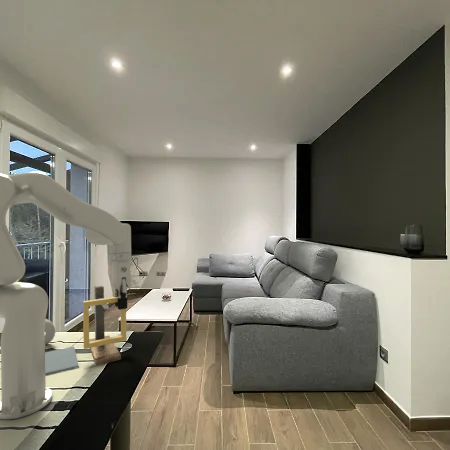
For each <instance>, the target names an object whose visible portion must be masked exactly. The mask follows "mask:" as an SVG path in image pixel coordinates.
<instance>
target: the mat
mask: <svg viewBox="0 0 450 450" xmlns="http://www.w3.org/2000/svg"><path fill="white" fill-rule="evenodd" d="M77 368H79V362H78V357H77V353H76V348H75V346H69V347H65V348H59V349H55V350H50V351H45V376H46V375H51V374H56V373H60V372H64V371H68V370H72V369H77Z"/></svg>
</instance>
